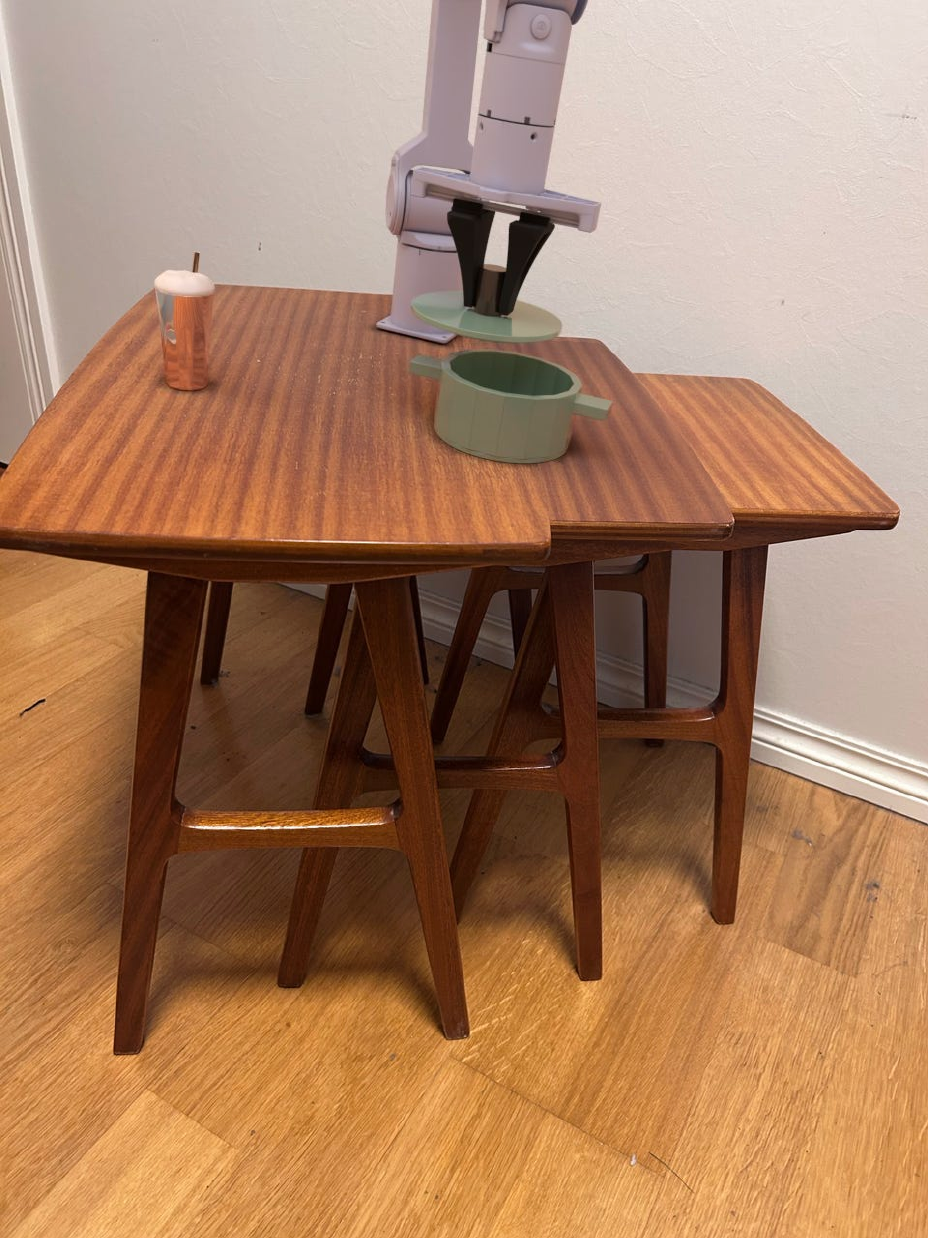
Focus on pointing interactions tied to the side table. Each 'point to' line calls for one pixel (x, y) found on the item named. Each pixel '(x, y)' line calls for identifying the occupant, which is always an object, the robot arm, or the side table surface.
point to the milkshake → (185, 325)
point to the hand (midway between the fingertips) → (488, 308)
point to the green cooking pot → (506, 404)
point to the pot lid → (486, 313)
